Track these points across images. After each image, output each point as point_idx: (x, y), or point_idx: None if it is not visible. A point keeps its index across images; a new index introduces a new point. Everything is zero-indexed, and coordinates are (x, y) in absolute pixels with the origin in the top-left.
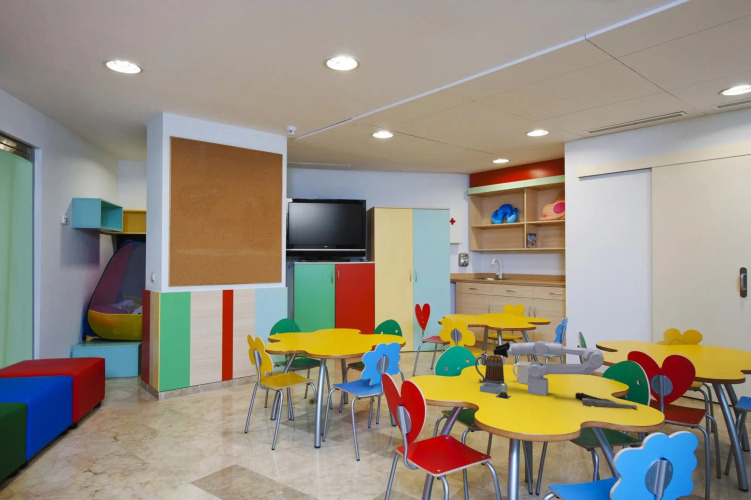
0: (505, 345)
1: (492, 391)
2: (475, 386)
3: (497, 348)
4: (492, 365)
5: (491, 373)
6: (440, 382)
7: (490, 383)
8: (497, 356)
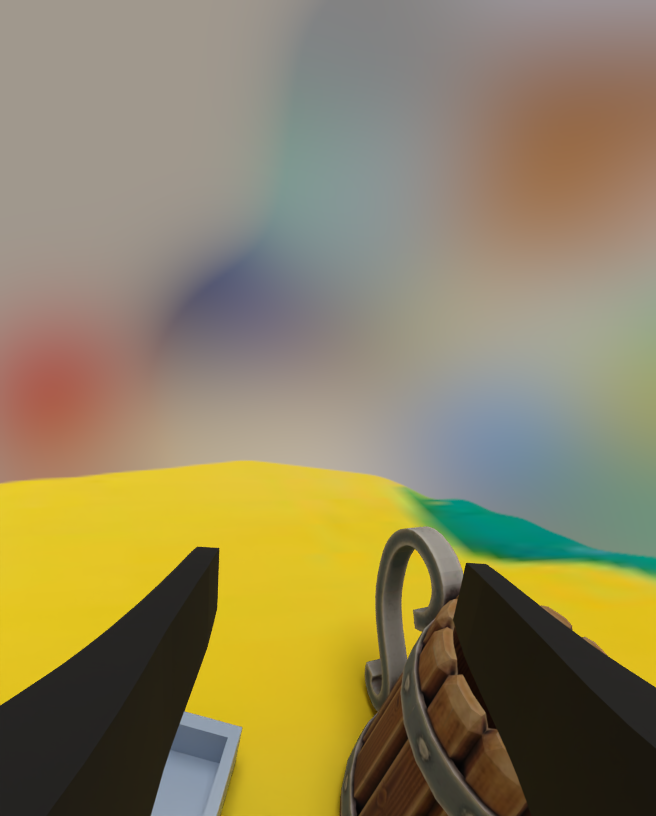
0: (631, 782)
1: None
2: (293, 662)
3: (474, 614)
4: (404, 705)
5: (376, 743)
6: (298, 501)
7: (212, 787)
8: None
